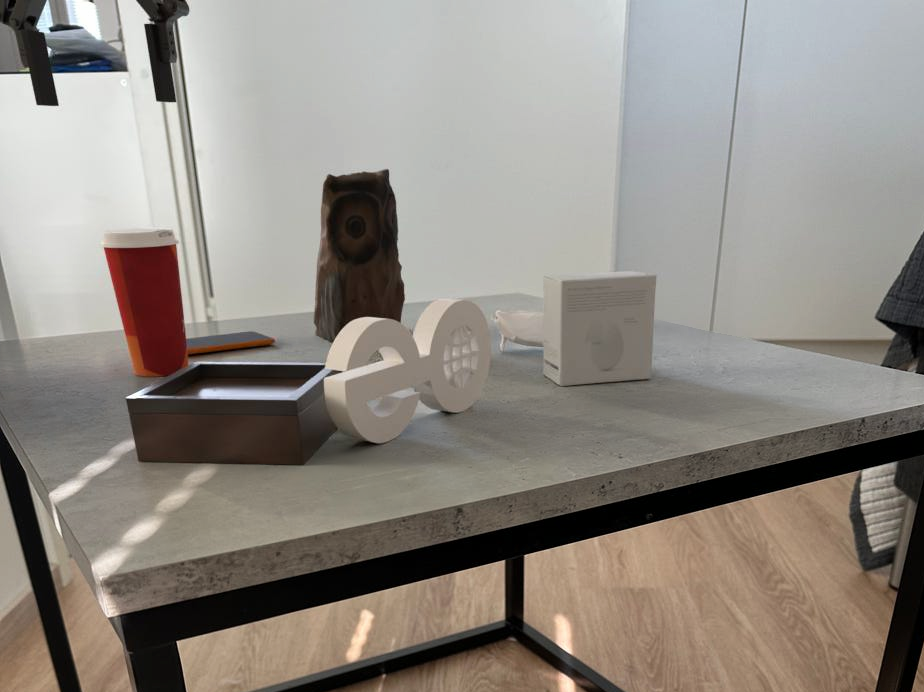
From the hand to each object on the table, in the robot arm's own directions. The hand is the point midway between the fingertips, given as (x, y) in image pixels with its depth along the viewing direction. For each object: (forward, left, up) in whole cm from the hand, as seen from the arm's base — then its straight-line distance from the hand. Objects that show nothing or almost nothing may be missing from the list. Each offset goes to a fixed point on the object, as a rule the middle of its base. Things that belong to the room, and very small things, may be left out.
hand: (106, 104), depth 95 cm
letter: (+35, -22, -27) cm, 49 cm away
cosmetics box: (+51, -2, -27) cm, 58 cm away
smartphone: (+1, +12, -27) cm, 30 cm away
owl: (+19, +21, -27) cm, 39 cm away
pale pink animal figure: (+44, +12, -27) cm, 53 cm away
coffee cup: (+1, -1, -27) cm, 27 cm away
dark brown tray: (+21, -28, -27) cm, 44 cm away
